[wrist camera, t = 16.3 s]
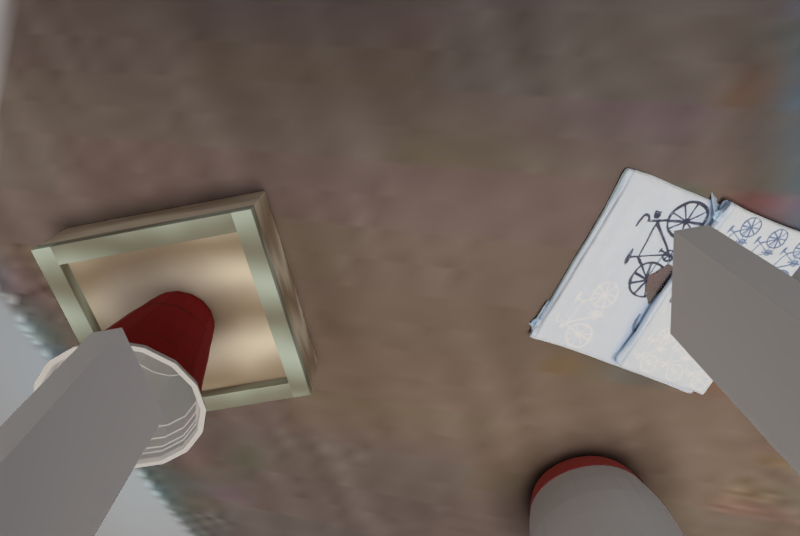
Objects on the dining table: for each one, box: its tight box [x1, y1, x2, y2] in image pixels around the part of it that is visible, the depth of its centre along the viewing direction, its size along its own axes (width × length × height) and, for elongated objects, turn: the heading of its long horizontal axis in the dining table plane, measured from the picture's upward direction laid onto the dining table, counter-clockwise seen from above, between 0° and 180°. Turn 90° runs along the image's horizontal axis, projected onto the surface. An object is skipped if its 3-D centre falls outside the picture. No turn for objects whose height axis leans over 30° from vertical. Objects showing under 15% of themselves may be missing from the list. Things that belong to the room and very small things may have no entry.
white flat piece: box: [529, 168, 800, 394], centre depth 49 cm, size 19×20×2 cm
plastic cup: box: [34, 291, 215, 468], centre depth 40 cm, size 11×11×12 cm
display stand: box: [31, 191, 318, 411], centre depth 47 cm, size 18×18×5 cm
